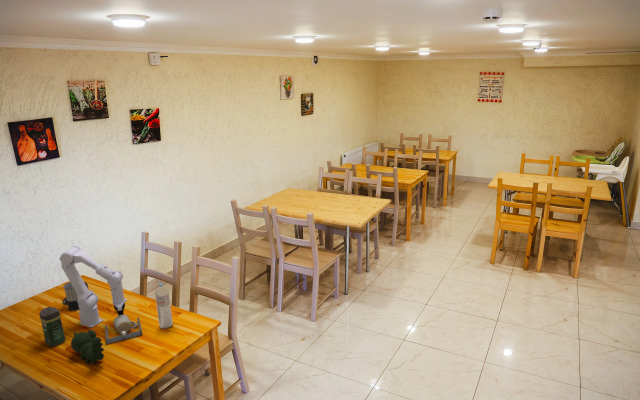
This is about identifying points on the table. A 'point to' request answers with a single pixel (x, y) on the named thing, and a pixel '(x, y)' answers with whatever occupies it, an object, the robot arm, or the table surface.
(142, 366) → the table surface
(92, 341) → the toy figurine
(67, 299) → the milk frother
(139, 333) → the coupler cradle
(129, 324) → the ceramic mug
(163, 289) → the water bottle
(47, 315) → the coffee jar
